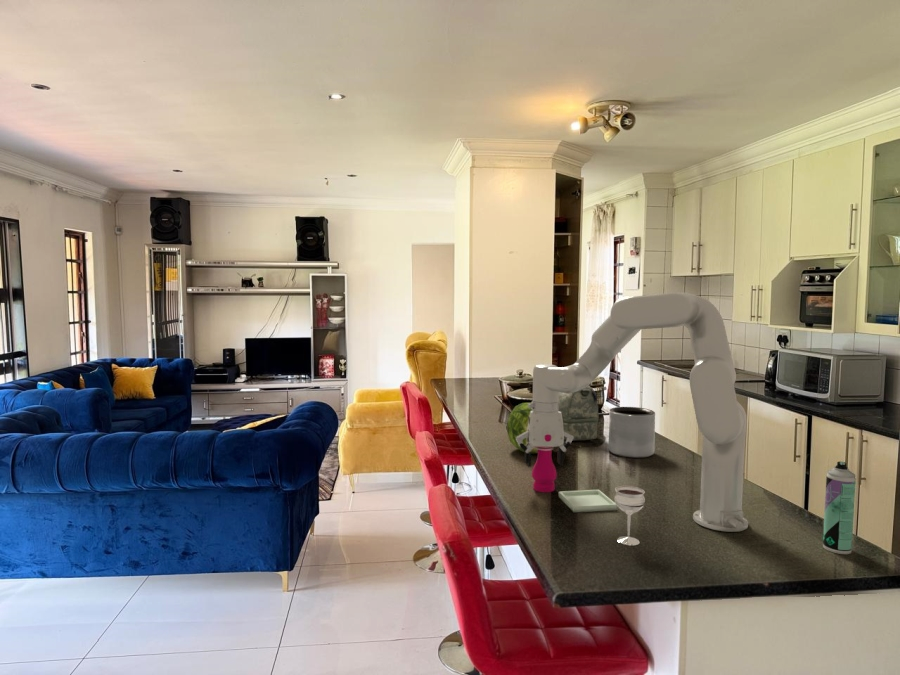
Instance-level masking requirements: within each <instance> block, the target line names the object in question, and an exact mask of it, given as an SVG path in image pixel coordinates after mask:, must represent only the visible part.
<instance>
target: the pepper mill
mask: <svg viewBox="0 0 900 675" xmlns="http://www.w3.org/2000/svg"><path fill="white" fill-rule="evenodd" d="M544 437H545V441H547V442H549V441H551V435H545V436H544ZM536 448H537V449H538V453H537V458H536V462H535V464H534V465H533V467H532V471H531V477H532V479H533V480H534V481H533V484H532V485H533V486H532V488H533V490H534V491H535V492H537V493H538V492H539V493H551V492H554V491H555V487H556V484H555V482H554V481H555V480H556V479H557V477H558V474H557V470H556V466H555V464H554V462H553V459H552V450H554V447H536Z"/></svg>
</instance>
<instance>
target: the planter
mask: <svg viewBox="0 0 900 675" xmlns="http://www.w3.org/2000/svg"><path fill="white" fill-rule="evenodd" d="M608 414H609V415H608V416H609V418H608V419H609V420H608V421H609V423H608V439H607V440H608V441H607V442H608V443H607V445H608V446H607V447H608V451H609V452H610V453H611V454H614V455H616V456H618V457H619V456H620V457H625V458H632V459H641V458H642V459H643V458H648V457H651V456H653V455H654V454H655V447H656V446H655V445H656V444H655V440H656V439H655V434H656V433H655V432H656V430H655V429H656V427H655V426H656V412H655V411H654V410H652V409H650V408H649V409H648V408H644V407H637V406H636V407H635V406H616V407H611V408H610V409H609V413H608Z"/></svg>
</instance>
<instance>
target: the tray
mask: <svg viewBox="0 0 900 675" xmlns="http://www.w3.org/2000/svg"><path fill="white" fill-rule="evenodd" d="M558 498H559V499H560V500H561V501H562V502H563V503H564V504H565V505H566V506H567V507H568V508H569V509H570V510H571V511H572V512H573V513H583V512H585V513H586V512H588V513H589V512H603V511H617V510H618V506H617V505H616V503H615V501H613V500H612V499H611V498H610V497H608V496H607V495H606V494H605V493H604V492H602V491H601V490H600V489H587V490H586V489H585V490H565V491H558Z"/></svg>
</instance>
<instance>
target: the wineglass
mask: <svg viewBox="0 0 900 675" xmlns="http://www.w3.org/2000/svg"><path fill="white" fill-rule="evenodd" d="M614 490H615V492H616V493H615V494H614V502H615V503H616V505H617V508H618V509H619V510H621V511H622V512H624V513H625V514H626V516H627V522H626V523H627V536H619V537H618V538H617V540H616V541H617V542H618V543H620V544H622V545H625V546H637V545H639V544H640V541H639V539H638V538H635V537H633V536H630V533H631V532H630V531H631V518H632V515H633V514H636V513H638V512H639V511H640V510H642V509H643V508H644V506H645V502H646V499H645V496H644V495H645V493H646V492H645V490H644V489H643V488H641V487H637V486H631V485H620V486H616V487H614Z"/></svg>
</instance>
